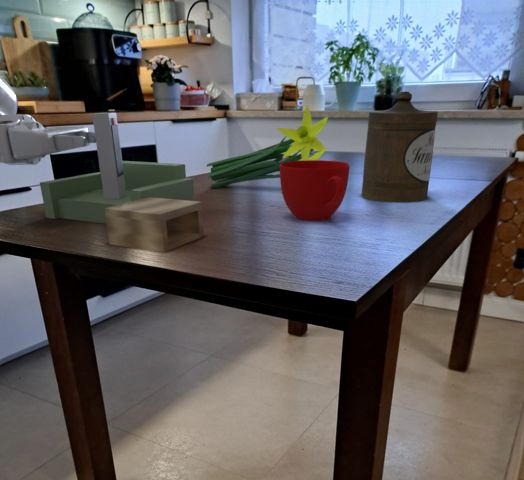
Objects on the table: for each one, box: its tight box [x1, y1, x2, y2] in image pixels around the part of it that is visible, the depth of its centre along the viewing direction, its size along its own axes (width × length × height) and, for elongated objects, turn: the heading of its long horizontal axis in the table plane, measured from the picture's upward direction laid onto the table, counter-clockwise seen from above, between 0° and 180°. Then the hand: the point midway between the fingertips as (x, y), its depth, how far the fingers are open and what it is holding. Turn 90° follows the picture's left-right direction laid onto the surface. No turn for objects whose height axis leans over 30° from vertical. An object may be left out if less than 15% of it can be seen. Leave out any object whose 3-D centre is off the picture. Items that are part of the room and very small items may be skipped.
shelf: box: [104, 197, 204, 253], centre depth 84 cm, size 11×11×6 cm
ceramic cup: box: [279, 159, 350, 222], centre depth 97 cm, size 13×17×10 cm
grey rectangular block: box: [91, 112, 126, 199], centre depth 98 cm, size 3×4×15 cm
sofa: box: [39, 160, 196, 224], centre depth 102 cm, size 25×17×10 cm
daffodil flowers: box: [206, 105, 329, 190], centre depth 127 cm, size 17×15×35 cm
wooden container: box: [361, 91, 438, 203], centre depth 115 cm, size 15×15×22 cm
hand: (94, 139), depth 96 cm, fingers open, 8 cm apart
